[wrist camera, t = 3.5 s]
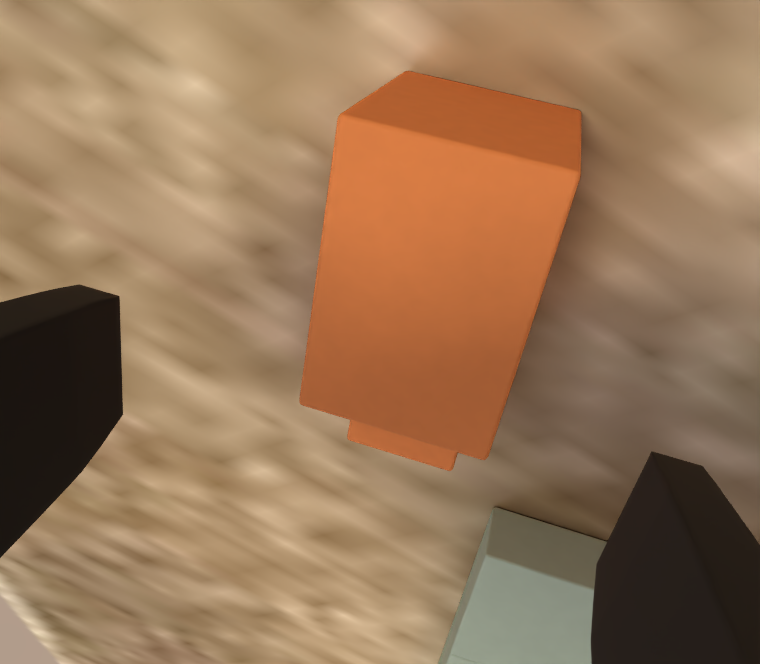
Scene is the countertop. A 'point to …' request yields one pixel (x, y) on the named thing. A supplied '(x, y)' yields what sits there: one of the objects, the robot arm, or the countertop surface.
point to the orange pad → (435, 261)
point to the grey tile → (526, 596)
